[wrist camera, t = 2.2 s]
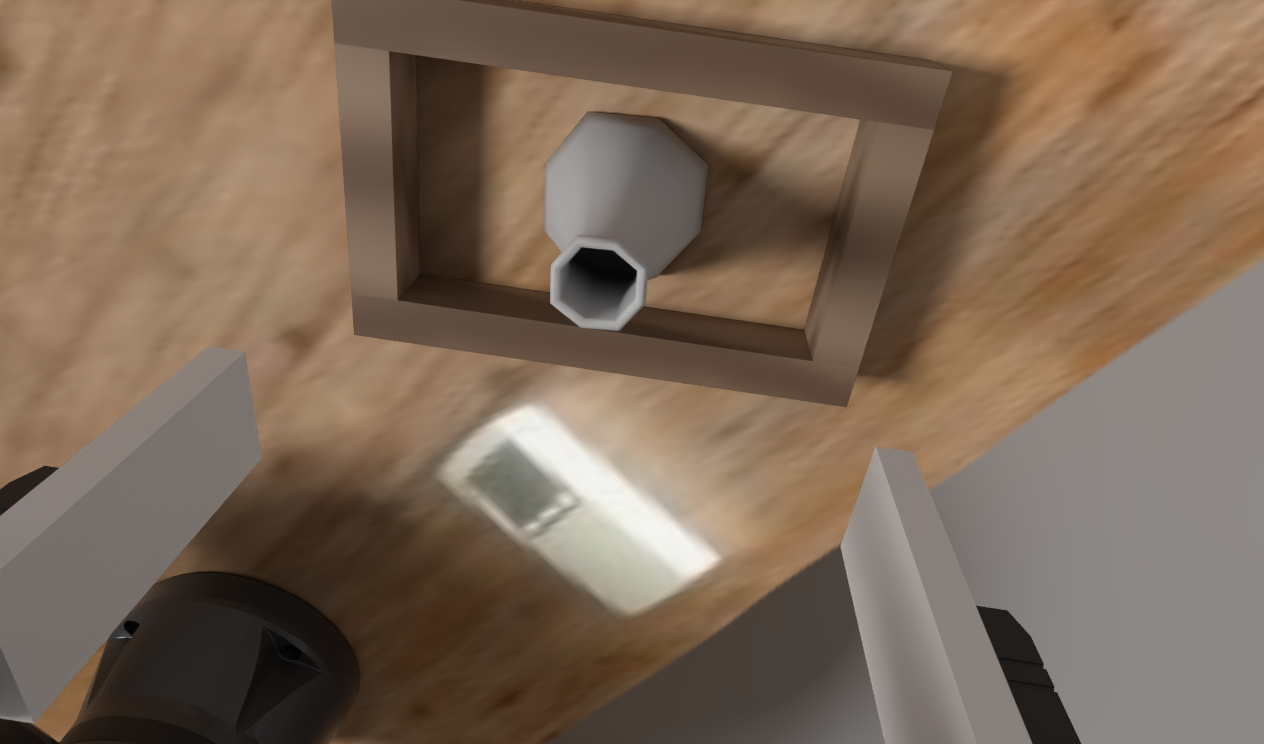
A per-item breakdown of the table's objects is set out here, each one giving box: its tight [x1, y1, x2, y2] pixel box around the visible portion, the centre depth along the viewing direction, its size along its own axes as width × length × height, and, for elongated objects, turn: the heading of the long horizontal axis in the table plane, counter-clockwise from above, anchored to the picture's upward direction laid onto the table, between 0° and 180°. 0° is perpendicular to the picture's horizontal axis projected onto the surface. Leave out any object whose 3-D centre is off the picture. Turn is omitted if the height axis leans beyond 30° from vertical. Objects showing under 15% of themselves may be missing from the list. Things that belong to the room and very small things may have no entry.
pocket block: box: [332, 0, 953, 407], centre depth 31 cm, size 14×22×3 cm, turn 83°
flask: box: [544, 112, 709, 331], centre depth 28 cm, size 7×7×10 cm
